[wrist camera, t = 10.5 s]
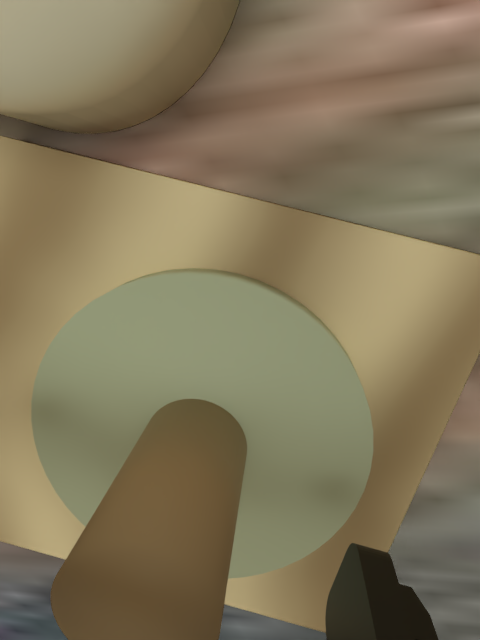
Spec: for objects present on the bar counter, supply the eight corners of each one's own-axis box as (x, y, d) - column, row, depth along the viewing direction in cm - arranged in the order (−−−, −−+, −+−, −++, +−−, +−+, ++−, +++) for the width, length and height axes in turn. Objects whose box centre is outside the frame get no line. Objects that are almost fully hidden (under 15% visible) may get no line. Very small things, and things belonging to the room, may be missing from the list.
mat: (500, 259, 11) (519, 265, 10) (344, 611, 16) (347, 638, 15) (20, 140, 12) (-3, 134, 11) (-1, 515, 16) (-20, 535, 15)
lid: (416, 318, 11) (560, 451, 5) (312, 584, 14) (330, 850, 8) (65, 229, 11) (-161, 263, 6) (38, 508, 14) (-125, 714, 9)
